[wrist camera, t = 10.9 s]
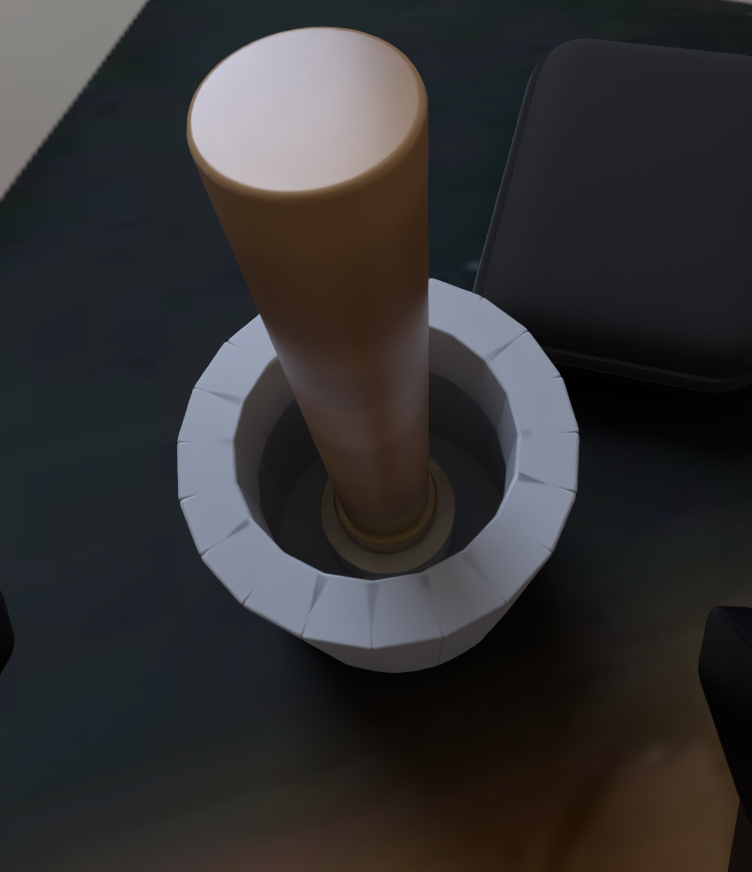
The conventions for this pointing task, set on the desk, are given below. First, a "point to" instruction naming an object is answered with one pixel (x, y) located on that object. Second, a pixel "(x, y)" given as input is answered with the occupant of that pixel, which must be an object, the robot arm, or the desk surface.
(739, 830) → the multiport hub
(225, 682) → the desk surface
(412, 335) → the tall brown cylinder
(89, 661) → the desk surface
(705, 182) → the carrying case
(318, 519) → the pencil cup
